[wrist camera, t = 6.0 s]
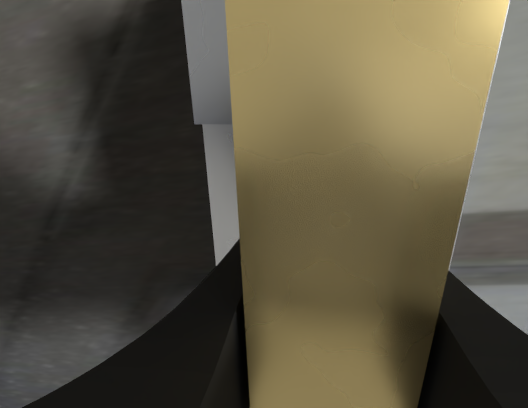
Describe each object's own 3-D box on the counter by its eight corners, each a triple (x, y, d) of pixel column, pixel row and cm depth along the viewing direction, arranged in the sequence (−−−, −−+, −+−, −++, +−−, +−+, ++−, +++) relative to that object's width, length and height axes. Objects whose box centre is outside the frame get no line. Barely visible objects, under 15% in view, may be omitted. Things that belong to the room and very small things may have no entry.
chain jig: (420, 377, 16) (433, 423, 14) (228, 364, 16) (219, 407, 15) (513, -50, 9) (559, -59, 8) (190, -38, 10) (166, -44, 8)
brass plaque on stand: (355, 371, 15) (380, 571, 10) (276, 366, 16) (259, 558, 10) (400, -25, 9) (519, -44, 4) (270, -21, 10) (222, -33, 4)
